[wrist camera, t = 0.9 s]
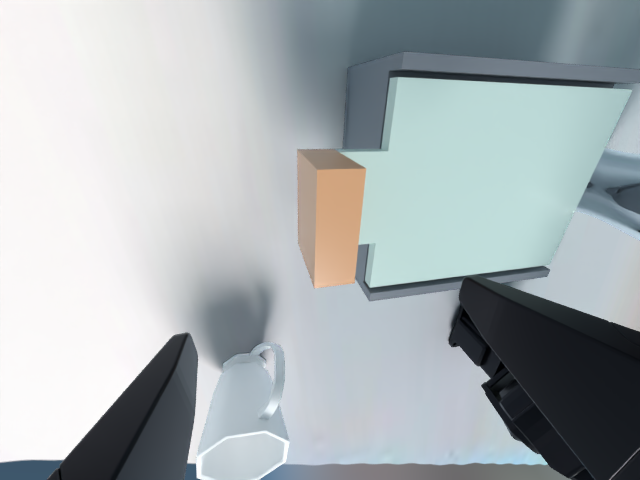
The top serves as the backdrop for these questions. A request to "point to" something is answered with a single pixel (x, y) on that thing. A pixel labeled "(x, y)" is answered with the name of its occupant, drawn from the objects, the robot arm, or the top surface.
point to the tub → (374, 77)
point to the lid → (454, 181)
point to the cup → (245, 420)
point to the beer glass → (615, 192)
